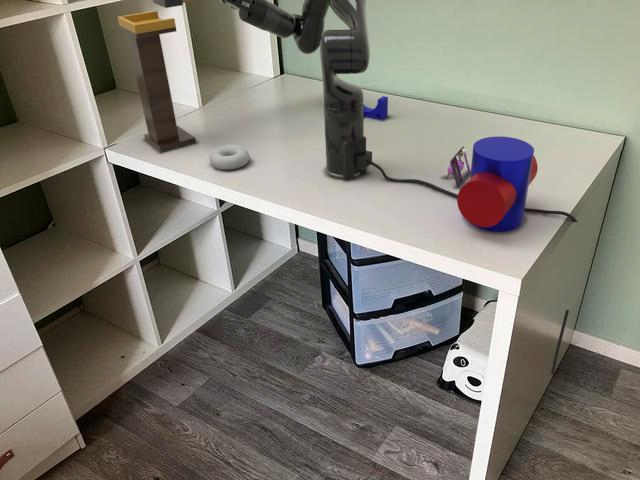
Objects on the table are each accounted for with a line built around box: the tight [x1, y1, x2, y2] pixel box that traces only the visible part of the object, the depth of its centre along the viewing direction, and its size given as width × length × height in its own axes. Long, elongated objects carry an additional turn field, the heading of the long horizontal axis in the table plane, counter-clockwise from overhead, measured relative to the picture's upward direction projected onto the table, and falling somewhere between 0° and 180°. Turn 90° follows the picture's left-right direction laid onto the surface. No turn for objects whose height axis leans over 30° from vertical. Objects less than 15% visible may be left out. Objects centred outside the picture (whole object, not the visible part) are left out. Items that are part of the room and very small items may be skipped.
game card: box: [444, 146, 471, 188], centre depth 148 cm, size 7×5×9 cm
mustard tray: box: [117, 10, 177, 34], centre depth 152 cm, size 11×10×2 cm
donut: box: [208, 144, 251, 171], centre depth 157 cm, size 10×3×10 cm
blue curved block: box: [364, 95, 389, 121], centre depth 182 cm, size 12×4×6 cm, turn 57°
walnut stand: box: [118, 24, 197, 153], centre depth 161 cm, size 11×10×30 cm
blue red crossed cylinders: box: [456, 135, 539, 233], centre depth 129 cm, size 20×12×16 cm, turn 149°
